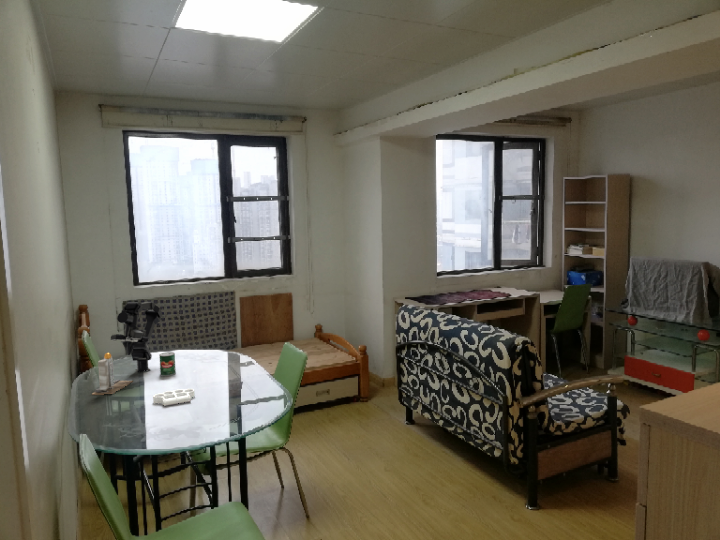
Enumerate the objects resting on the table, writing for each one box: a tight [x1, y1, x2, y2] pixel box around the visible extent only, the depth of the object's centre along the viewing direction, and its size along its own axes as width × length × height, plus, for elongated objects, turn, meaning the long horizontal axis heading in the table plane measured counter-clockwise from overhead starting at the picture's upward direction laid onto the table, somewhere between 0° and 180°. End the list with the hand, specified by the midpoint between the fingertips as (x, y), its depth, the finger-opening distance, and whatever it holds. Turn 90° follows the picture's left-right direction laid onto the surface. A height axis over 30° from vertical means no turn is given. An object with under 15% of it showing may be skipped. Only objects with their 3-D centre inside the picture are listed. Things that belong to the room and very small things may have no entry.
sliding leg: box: [102, 352, 115, 387], centre depth 257 cm, size 4×6×17 cm
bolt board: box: [91, 359, 134, 396], centre depth 260 cm, size 20×10×16 cm, turn 177°
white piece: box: [152, 388, 195, 407], centre depth 240 cm, size 3×18×15 cm
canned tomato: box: [158, 351, 177, 377], centre depth 284 cm, size 8×8×11 cm
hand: (128, 355), depth 276 cm, fingers closed
